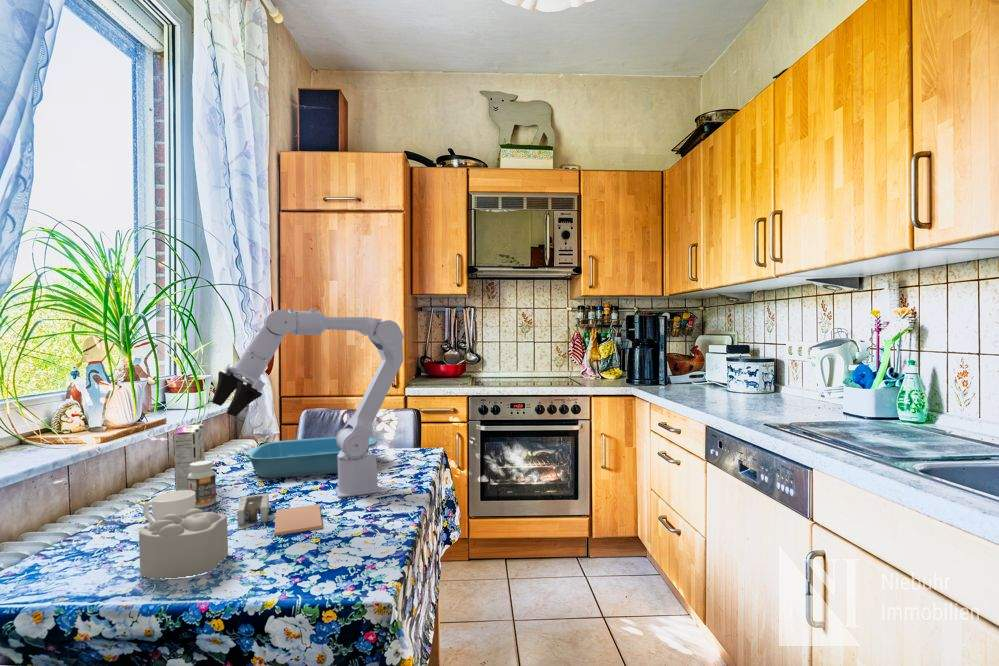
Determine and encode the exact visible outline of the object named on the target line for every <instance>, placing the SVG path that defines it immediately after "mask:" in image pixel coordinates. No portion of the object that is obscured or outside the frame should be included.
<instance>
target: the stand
mask: <svg viewBox="0 0 999 666" xmlns="http://www.w3.org/2000/svg"><path fill="white" fill-rule="evenodd" d="M247 518H248V519H247V520H248V521H247V523H248V524H255V523H257V522H258V520H259V519H258V510H257V502H256V501H253V502H249V503H248V512H247Z"/></svg>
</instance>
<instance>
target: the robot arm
mask: <svg viewBox="0 0 999 666" xmlns="http://www.w3.org/2000/svg"><path fill="white" fill-rule="evenodd" d="M327 330H330V331H331V330H332V331H333V330H334V331H356V332H358V333H360V334H361V335H363V336H367V337H368V339H369V341H370V342H371V343H372V344H373V345H374V346H375V348H376V349H377V352H378V354H379V356H380V358H381V360H380V362H379V364H378V367H377V368H376V371H375V373H374V375H373V376H372V378H371V379H370V380H371V381H370V383H369V384H368V386H367V388H366V390H365V392H364V394H363V396H362V398H361V400H360V402H359V403H358V407H356V410H355V411H354V413H353V415H352V417H350V418H349V419H348V421H347V423H346V424H345V425H344V427H342V429H340V430H339V431H338V432H337V434H336V436H335V437H336V444H337V446H338V447H339V448H340V452H339V454H338V455H337V457H338V473H337V486H336V487H335V492H336V495H337V498H340V499H341V498H346V497H347V498H348V497H352V496H353V497H354V496H360V495H368V494H376V493H378V491H379V490H378V466H377V465H378V464H377V458H376V457H377V456H376V454H373V453H368V454H367V450H368V447H369V438H371V435H372V433H373V423H374V421H375V419H376V417H377V415H378V413H379V411H380V409H381V407H382V405H383V403H384V401H385V399H386V397H387V395H388V393H389V391H390V389H391V387H392V385H393V382H394V381H395V379H396V377H397V374H398V372H399V370H400V369H401V366H402V365H403V362H404V346H403V341H404V334H403V333H404V332H403V331H402V329H401V326H399V324H398V323H397V322H395V321H393V320H390V319H385V320H383V319H381V318H376V317H368V316H326V315H325V314H324V313H323V312H321V311H317V309H316V308H310V309H309V311H308V310H294V308H288V309H287V310H286V309H277V310H273V311H271V312H270V313H268V314H267V315H266V316H265V318H264V319H263V324H262V326H260V328H259V329H258V332H257V333H255V334H254V336H253V338H252V340H251V341H250V343H249V344H248V345H247V347H246V348H245V350H244V352H243V353H242V355H241V356H240V358H239V360H238V361H237V363H236V364H235V365H234V364H232V363H228V364H227V365H226V367H225V369H224V372H223V371H219V372H218V376H217V379H218V380H217V385H216V388H215V390H214V391H215V392H214V394H213V397H212V400H211V403H212V404H214V405H217V406H219V407H222V406H223V405H224V404H225V402H226V401H227V400H228V399H229V397H230V396H231V395H232V394H233V392H234V391H235V392H234V395H233V397H232V399H231V402H230V404H229V406H228V408H227V411H226V414H228V415H230V416H232V417H237V416H238V415H239V414H240V413H241V412H242V411H243V410H244V409H245V408H246V407H248V406H249V405H250V404H251V403H252V402H254V401H255V400H257V399H258V398H260V397H262V395H263V393H262V392H261V391H262V390H263V388H264V386H266V383H265V382H263V381H262V380H261V379H260V377H261V376H262V375H263V372H264V371H265V369H266V368H267V366H268V364H269V363H270V362H271V360H272V358H273V357H274V354H275V353H276V352H277V351H278V349H279V347H280V344H281V342H282V340H283V338H284V337H285V336H286V335H287V334H291V335H294V336H321V335H322V334H323V333H324V332H325V331H327ZM243 377H244V378H243ZM369 448H370V447H369ZM368 451H369V450H368Z"/></svg>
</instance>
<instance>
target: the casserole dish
mask: <svg viewBox="0 0 999 666" xmlns="http://www.w3.org/2000/svg"><path fill="white" fill-rule="evenodd" d="M377 443H378V441H377V439H376V438H373V437H370V438H369V447H368V450H367V454H369V450H370V448H371V447H374V446H375V445H376V444H377ZM339 452H340V448H339V447H338V446H337V444H336V436H329V437H313V438H301V439H290V440H289V439H287V440H278V441H272V442H271V441H270V442H266V443H263V444H261V445H259V446H256V447H252V448H249V449H248V450H246V452H244V456H245V457H248V458H249V460H250V462H251V465H252V467H253V469H254V471H255V473H256V475H258V476H259V477H261V478H263V477H266V479H278V478H277V477H283V478H291V477H290V476H296V477H304V476H303V475H308V476H317V475H316V474H320V475H328V474H330V473H331V474H338V457H337V455H338V454H339ZM314 474H315V475H314Z"/></svg>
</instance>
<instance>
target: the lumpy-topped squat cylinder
mask: <svg viewBox="0 0 999 666" xmlns="http://www.w3.org/2000/svg"><path fill="white" fill-rule="evenodd" d="M228 535H229V533H228V517H227V515H226V514H223V513H216V512H213V511H206V512H205V511H203V509H201V508H194V509H190V510H188V511H186V512H185V513H184V514H183V515H177V514H167V515H164V516H163V517H161V518H160V519H159V520H158V521H155V522H149V523H148V524H146V525H144V526H143V527H142V528H140V529H139V531H138V541H139V542H138V545H139V547H138V549H139V551H138V552H139V574H140V573H141V574H140V576H141V577H143V576H145V577H148V578H154V579H160V578H162V579H165V578H178V577H186V576H193V575H198V574H202V573H205V572H209V571H211V570H213V569H214V568H215V567H216V566H217V565H218V563H219V562H220V561H221V560H223V559H224V558H226V557H227V556H229V540H228V539H229V537H228ZM227 558H228V557H227ZM227 558H226V559H227ZM224 560H225V559H224ZM224 560H223V561H224ZM219 564H220V563H219ZM218 566H219V565H218ZM218 566H217V567H218ZM145 577H144V578H145ZM148 578H147V579H148Z"/></svg>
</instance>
